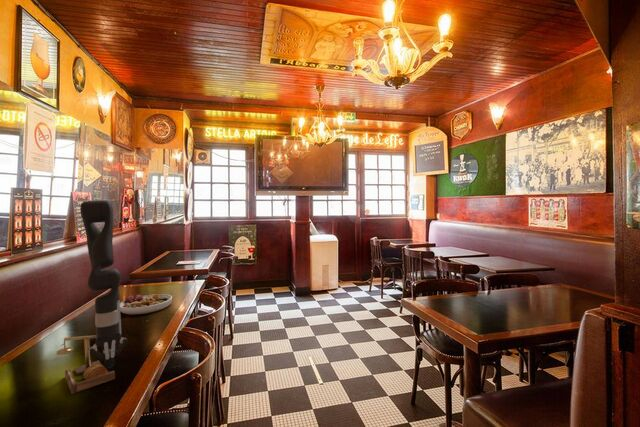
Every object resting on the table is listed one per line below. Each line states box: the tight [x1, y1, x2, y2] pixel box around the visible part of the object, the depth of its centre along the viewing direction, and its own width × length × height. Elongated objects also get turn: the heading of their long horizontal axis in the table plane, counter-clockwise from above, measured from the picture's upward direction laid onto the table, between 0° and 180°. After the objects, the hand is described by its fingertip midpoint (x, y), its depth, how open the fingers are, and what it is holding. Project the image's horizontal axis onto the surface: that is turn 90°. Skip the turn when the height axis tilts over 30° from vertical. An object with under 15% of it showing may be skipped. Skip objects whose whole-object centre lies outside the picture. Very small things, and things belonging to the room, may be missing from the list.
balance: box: [55, 334, 103, 376], centre depth 125 cm, size 19×6×14 cm, turn 135°
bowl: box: [120, 293, 173, 315], centre depth 203 cm, size 30×30×8 cm
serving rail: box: [64, 368, 116, 395], centre depth 118 cm, size 16×13×3 cm
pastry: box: [82, 364, 109, 380], centre depth 119 cm, size 9×7×4 cm
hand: (109, 367), depth 123 cm, fingers closed
